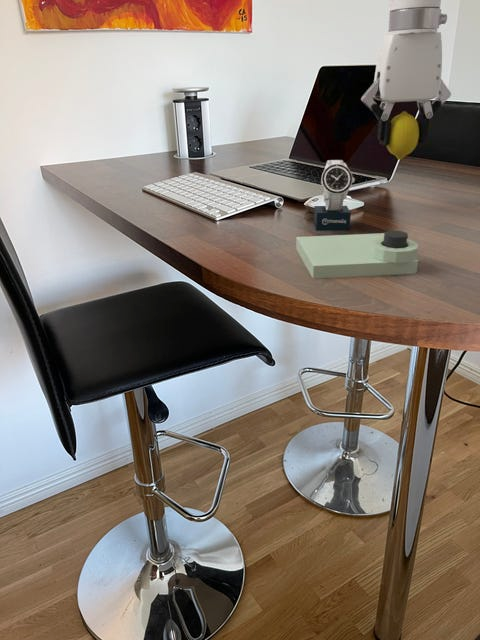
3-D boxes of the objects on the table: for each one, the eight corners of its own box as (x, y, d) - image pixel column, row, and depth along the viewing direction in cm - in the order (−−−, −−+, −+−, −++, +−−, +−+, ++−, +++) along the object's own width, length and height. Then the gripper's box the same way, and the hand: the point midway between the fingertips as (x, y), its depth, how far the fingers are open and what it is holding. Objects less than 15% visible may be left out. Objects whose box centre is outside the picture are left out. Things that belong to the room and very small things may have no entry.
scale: (388, 244, 77) (391, 222, 75) (421, 275, 66) (425, 250, 64) (295, 248, 76) (296, 226, 74) (313, 280, 65) (315, 255, 63)
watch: (317, 234, 82) (321, 165, 77) (312, 220, 89) (315, 156, 84) (351, 234, 82) (357, 165, 76) (344, 220, 89) (349, 156, 84)
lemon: (410, 156, 91) (415, 109, 87) (420, 161, 86) (426, 111, 82) (379, 158, 91) (383, 110, 87) (388, 163, 86) (393, 113, 82)
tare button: (401, 242, 68) (402, 229, 67) (409, 249, 66) (411, 236, 65) (379, 243, 68) (381, 230, 67) (387, 250, 65) (389, 237, 65)
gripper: (454, 23, 83) (439, 138, 91) (353, 28, 82) (347, 143, 90) (477, 19, 76) (459, 143, 84) (367, 24, 75) (359, 149, 83)
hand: (401, 142), depth 87 cm, fingers closed on lemon, 5 cm apart
